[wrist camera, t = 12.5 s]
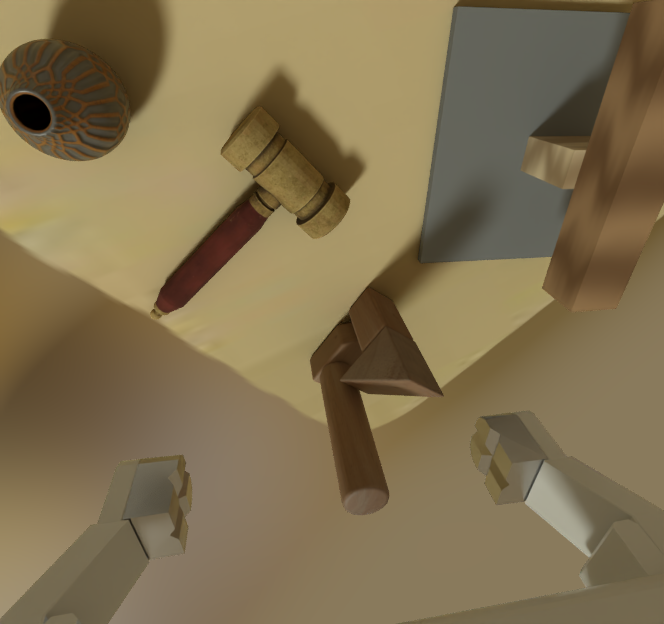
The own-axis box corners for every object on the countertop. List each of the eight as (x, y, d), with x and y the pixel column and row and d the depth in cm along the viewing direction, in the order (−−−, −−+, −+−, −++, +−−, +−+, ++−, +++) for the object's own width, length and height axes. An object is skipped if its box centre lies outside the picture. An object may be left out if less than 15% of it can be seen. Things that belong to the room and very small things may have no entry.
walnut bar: (633, 3, 25) (691, -6, 22) (690, 4, 25) (755, -4, 22) (541, 288, 36) (570, 312, 32) (583, 285, 36) (616, 308, 33)
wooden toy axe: (394, 300, 42) (467, 436, 27) (334, 370, 46) (370, 523, 31) (367, 284, 41) (428, 418, 26) (308, 358, 45) (331, 512, 30)
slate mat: (453, 7, 29) (458, 6, 29) (626, 14, 31) (634, 13, 31) (417, 259, 40) (420, 263, 39) (548, 253, 42) (552, 256, 41)
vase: (154, 141, 31) (121, 167, 24) (63, 156, 31) (1, 187, 24) (117, 33, 27) (65, 26, 20) (13, 48, 27) (-79, 46, 20)
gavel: (193, 359, 39) (93, 300, 34) (200, 330, 43) (112, 273, 38) (355, 210, 32) (257, 110, 27) (347, 191, 36) (261, 100, 31)
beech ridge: (529, 136, 34) (574, 150, 29) (593, 135, 35) (648, 149, 30) (520, 170, 36) (562, 189, 31) (581, 169, 37) (632, 187, 32)
